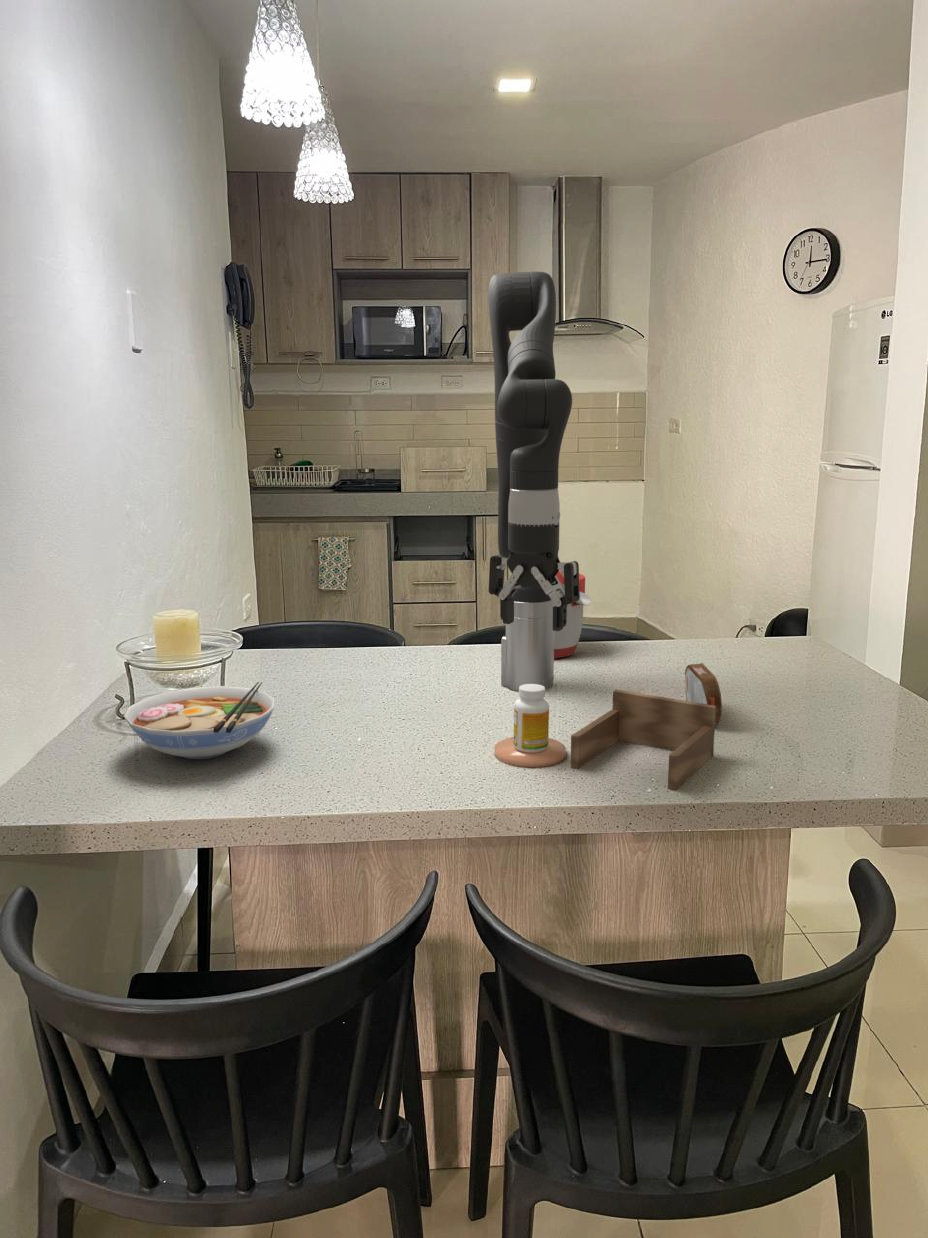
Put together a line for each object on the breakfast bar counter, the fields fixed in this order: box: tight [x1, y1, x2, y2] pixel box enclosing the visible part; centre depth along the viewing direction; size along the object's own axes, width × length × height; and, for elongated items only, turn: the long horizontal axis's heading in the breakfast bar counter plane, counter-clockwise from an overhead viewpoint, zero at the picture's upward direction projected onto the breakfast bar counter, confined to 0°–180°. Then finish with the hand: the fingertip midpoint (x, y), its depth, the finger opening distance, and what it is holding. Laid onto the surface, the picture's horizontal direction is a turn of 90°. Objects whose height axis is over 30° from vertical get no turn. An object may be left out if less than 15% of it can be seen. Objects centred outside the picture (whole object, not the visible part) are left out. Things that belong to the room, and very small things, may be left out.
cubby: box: [570, 688, 716, 791], centre depth 143 cm, size 16×16×8 cm
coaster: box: [494, 736, 567, 768], centre depth 147 cm, size 11×11×1 cm
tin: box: [684, 662, 723, 724], centre depth 164 cm, size 15×3×8 cm, turn 1°
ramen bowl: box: [123, 681, 275, 760], centre depth 148 cm, size 25×23×8 cm
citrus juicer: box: [554, 570, 592, 660], centre depth 204 cm, size 16×17×20 cm
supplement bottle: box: [513, 684, 550, 753], centre depth 146 cm, size 5×5×10 cm
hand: (533, 626), depth 143 cm, fingers open, 8 cm apart
